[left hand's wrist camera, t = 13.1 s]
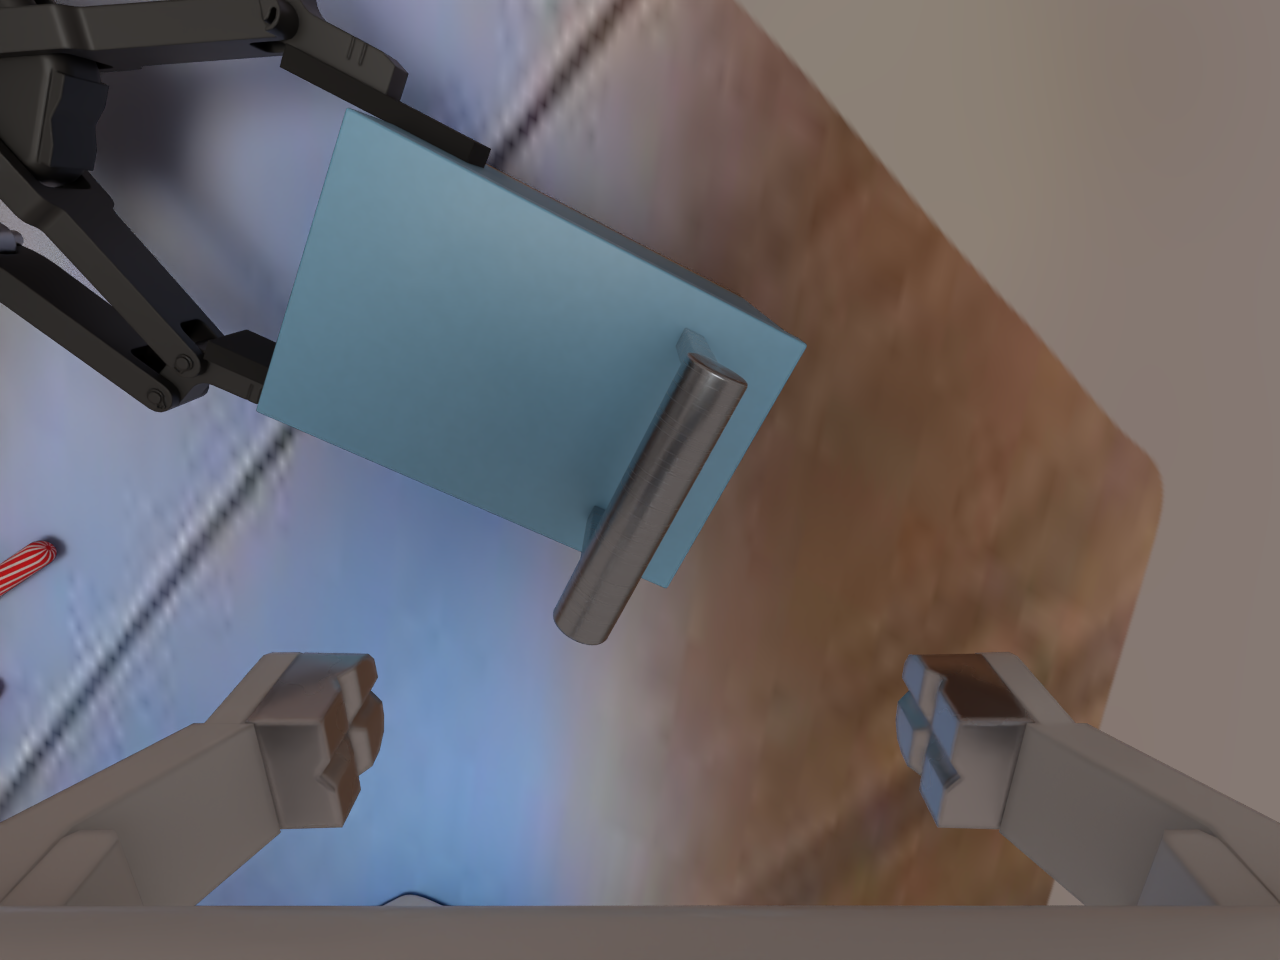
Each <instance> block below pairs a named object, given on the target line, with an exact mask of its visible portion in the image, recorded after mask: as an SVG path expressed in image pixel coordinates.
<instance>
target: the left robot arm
mask: <svg viewBox="0 0 1280 960" xmlns="http://www.w3.org/2000/svg"><path fill="white" fill-rule="evenodd" d="M377 678H378V675H377V671H376V666H375V661H374V659H373V658H372V657H371V656H370V655H369V654H352V653H306V652H305V653H300V652H272V653H269V654H266V655H263V657H262V658H261V659H260V660H259V661H258V662H257V663H256V664H255V666H254V667H253V668H252V669H251V670H250V671H249V672H248V674H247V675H246V676H245V677H244V678H243V679H242V681H241V682H240V683H239V684H238V685H237V686H236V687H235V689H234V690H233V691H232V692H231V693H230V694H229V695H228V697H227V698H226V699H225V700H224V701H223V702H222V704H221V705H220V706H219V707H218V708H217V709H216V710H215V712H214V713H213V714H212V715H211V716H210V717H209V718H208V720H207V721H206V722H205V723H193V724H191V725H189V726H187V727H185V728H184V729H182V730H180V731H178V732H176V733H174V734H172V735H170V736H168V737H166V738H164V739H162V740H160V741H158V742H156V743H154V744H152V745H151V746H149V747H147V748H145V749H143V750H141V751H139V752H137V753H135V754H133V755H131V756H129V757H127V758H125V759H123V760H121V761H119V762H117V763H116V764H114V765H112V766H110V767H108V768H106V769H104V770H102V771H100V772H98V773H96V774H94V775H92V776H90V777H88V778H86V779H84V780H82V781H81V782H79V783H77V784H75V785H73V786H71V787H69V788H67V789H65V790H63V791H61V792H59V793H57V794H55V795H53V796H51V797H49V798H47V799H46V800H44V801H42V802H40V803H38V804H36V805H34V806H32V807H30V808H28V809H26V810H24V811H22V812H20V813H18V814H16V815H14V816H12V817H11V818H9V819H7V820H5V821H3V822H1V823H0V960H1280V823H1279V822H1277V821H1275V820H1273V819H1271V818H1269V817H1267V816H1265V815H1263V814H1261V813H1259V812H1257V811H1255V810H1253V809H1252V808H1250V807H1248V806H1246V805H1244V804H1242V803H1240V802H1238V801H1236V800H1234V799H1232V798H1230V797H1228V796H1226V795H1224V794H1222V793H1220V792H1218V791H1217V790H1215V789H1213V788H1211V787H1209V786H1207V785H1205V784H1203V783H1201V782H1199V781H1197V780H1195V779H1193V778H1191V777H1189V776H1188V775H1186V774H1184V773H1182V772H1180V771H1178V770H1176V769H1174V768H1172V767H1170V766H1168V765H1166V764H1164V763H1162V762H1160V761H1158V760H1156V759H1155V758H1153V757H1151V756H1149V755H1147V754H1145V753H1143V752H1141V751H1139V750H1137V749H1135V748H1133V747H1131V746H1129V745H1127V744H1125V743H1124V742H1122V741H1120V740H1118V739H1116V738H1114V737H1112V736H1110V735H1108V734H1106V733H1104V732H1102V731H1100V730H1098V729H1096V728H1094V727H1093V726H1091V725H1089V724H1087V723H1075V722H1074V721H1073V720H1072V718H1071V717H1070V716H1069V715H1068V714H1067V713H1066V712H1065V710H1064V709H1063V708H1062V707H1061V706H1060V705H1059V704H1058V702H1057V701H1056V700H1055V699H1054V698H1053V697H1052V695H1051V694H1050V693H1049V692H1048V691H1047V690H1046V689H1045V687H1044V686H1043V685H1042V684H1041V683H1040V682H1039V681H1038V679H1037V678H1036V677H1035V676H1034V675H1033V674H1032V673H1031V671H1030V670H1029V669H1028V668H1027V667H1026V666H1025V664H1024V663H1023V662H1022V661H1021V660H1020V659H1019V658H1018V656H1016V655H1014V654H1012V653H1010V652H991V653H975V654H920V655H909V656H908V658H907V660H906V662H905V664H904V670H903V675H902V678H903V680H904V682H905V683H906V685H907V687H908V689H909V691H908V692H907V693H906V694H905V695H904V696H903V697H902V698H901V699H900V700H899V701H898V706H897V714H896V729H897V739H898V743H899V746H900V750H901V753H902V755H903V757H904V759H905V761H906V764H907V766H909V767H910V768H911V769H913V770H914V771H915V772H917V773H918V774H920V775H921V782H920V788H919V790H920V792H921V794H922V796H923V798H924V800H925V802H926V804H927V806H928V808H929V810H930V812H931V814H932V816H933V818H934V820H935V822H936V825H937V827H943V828H978V829H1000V831H999V832H1000V833H1001V834H1002V835H1003V836H1004V837H1006V838H1007V839H1008V840H1009V841H1010V842H1011V843H1013V844H1014V845H1015V846H1016V847H1017V848H1018V849H1020V850H1021V851H1022V852H1023V853H1024V854H1025V855H1027V856H1028V857H1029V858H1030V859H1031V860H1032V861H1034V862H1035V863H1036V864H1037V865H1038V866H1039V867H1041V868H1042V869H1043V870H1044V871H1045V872H1046V873H1048V874H1049V875H1050V876H1051V877H1052V878H1054V879H1055V880H1056V881H1057V882H1058V883H1059V884H1061V885H1062V886H1063V887H1064V888H1065V889H1066V890H1068V891H1069V892H1070V893H1071V894H1072V895H1073V896H1075V897H1076V898H1077V899H1078V900H1079V901H1080V902H1082V903H1083V904H1084V905H1085V906H442V905H440V904H438V903H435V902H433V901H431V900H428V899H426V898H423V897H420V896H417V895H404V896H401V897H399V898H397V899H395V900H393V901H391V902H389V903H387V904H385V905H383V906H195V905H196V904H197V903H199V902H200V901H201V900H202V899H203V898H204V897H206V896H207V895H208V894H209V893H210V892H212V891H213V890H214V889H215V888H216V887H217V886H219V885H220V884H221V883H222V882H223V881H224V880H226V879H227V878H228V877H229V876H230V875H231V874H233V873H234V872H235V871H236V870H237V869H238V868H240V867H241V866H242V865H243V864H244V863H245V862H247V861H248V860H249V859H250V858H251V857H252V856H254V855H255V854H256V853H257V852H258V851H260V850H261V849H262V848H263V847H264V846H265V845H267V844H268V843H269V842H270V841H271V840H272V839H274V838H275V837H276V836H277V835H278V834H279V833H280V832H281V831H280V829H301V828H335V827H343V825H344V823H345V821H346V819H347V817H348V815H349V813H350V811H351V809H352V806H353V804H354V802H355V800H356V798H357V796H358V794H359V792H360V790H361V788H360V782H359V775H360V774H362V773H363V772H365V771H366V770H367V769H369V768H370V767H371V766H373V764H374V761H375V759H376V757H377V755H378V753H379V751H380V746H381V741H382V737H383V732H384V712H383V705H382V701H381V700H380V699H379V698H378V697H377V696H376V695H375V694H374V693H373V692H372V691H371V689H372V687H373V685H374V683H375V682H376V680H377Z"/></svg>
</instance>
